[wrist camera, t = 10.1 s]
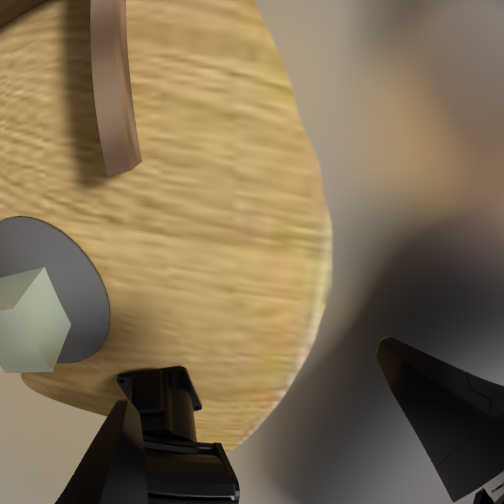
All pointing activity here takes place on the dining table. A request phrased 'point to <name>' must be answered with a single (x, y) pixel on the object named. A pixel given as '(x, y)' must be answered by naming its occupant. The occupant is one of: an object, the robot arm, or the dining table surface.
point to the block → (30, 323)
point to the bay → (104, 79)
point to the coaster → (60, 280)
